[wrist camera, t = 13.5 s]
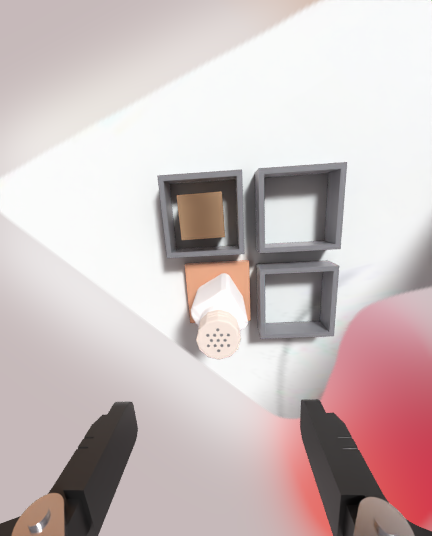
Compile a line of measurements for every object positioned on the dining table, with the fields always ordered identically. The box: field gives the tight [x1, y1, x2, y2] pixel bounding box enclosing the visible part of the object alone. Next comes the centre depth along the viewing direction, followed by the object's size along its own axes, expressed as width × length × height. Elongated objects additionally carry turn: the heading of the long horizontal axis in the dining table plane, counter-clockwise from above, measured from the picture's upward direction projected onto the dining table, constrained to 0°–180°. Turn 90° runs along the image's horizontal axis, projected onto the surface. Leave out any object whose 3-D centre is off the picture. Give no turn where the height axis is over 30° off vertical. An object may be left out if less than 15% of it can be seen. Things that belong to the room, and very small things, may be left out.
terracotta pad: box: [185, 260, 251, 323], centre depth 26 cm, size 7×7×1 cm
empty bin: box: [255, 162, 347, 253], centre depth 22 cm, size 8×8×2 cm
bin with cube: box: [158, 170, 244, 258], centre depth 23 cm, size 8×8×2 cm
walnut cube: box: [176, 191, 225, 240], centre depth 22 cm, size 4×4×4 cm
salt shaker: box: [191, 273, 248, 359], centre depth 21 cm, size 4×4×10 cm
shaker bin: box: [257, 261, 339, 339], centre depth 25 cm, size 8×8×2 cm
